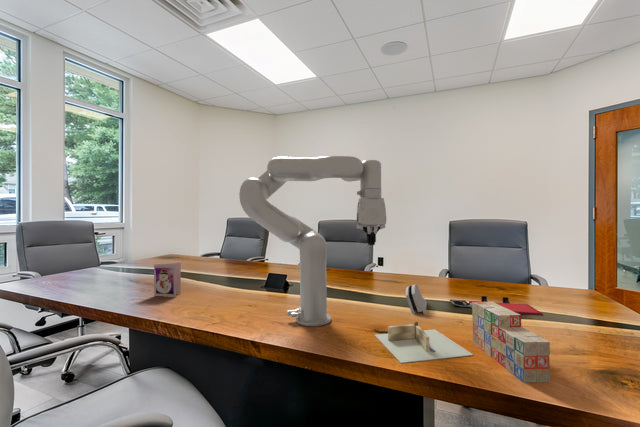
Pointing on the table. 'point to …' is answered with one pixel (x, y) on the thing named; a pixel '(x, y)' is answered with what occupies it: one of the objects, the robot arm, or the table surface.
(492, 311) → the stack of blocks
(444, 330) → the table surface
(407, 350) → the card
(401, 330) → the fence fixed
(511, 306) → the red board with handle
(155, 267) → the greeting card
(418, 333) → the panel
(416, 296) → the grey piece
